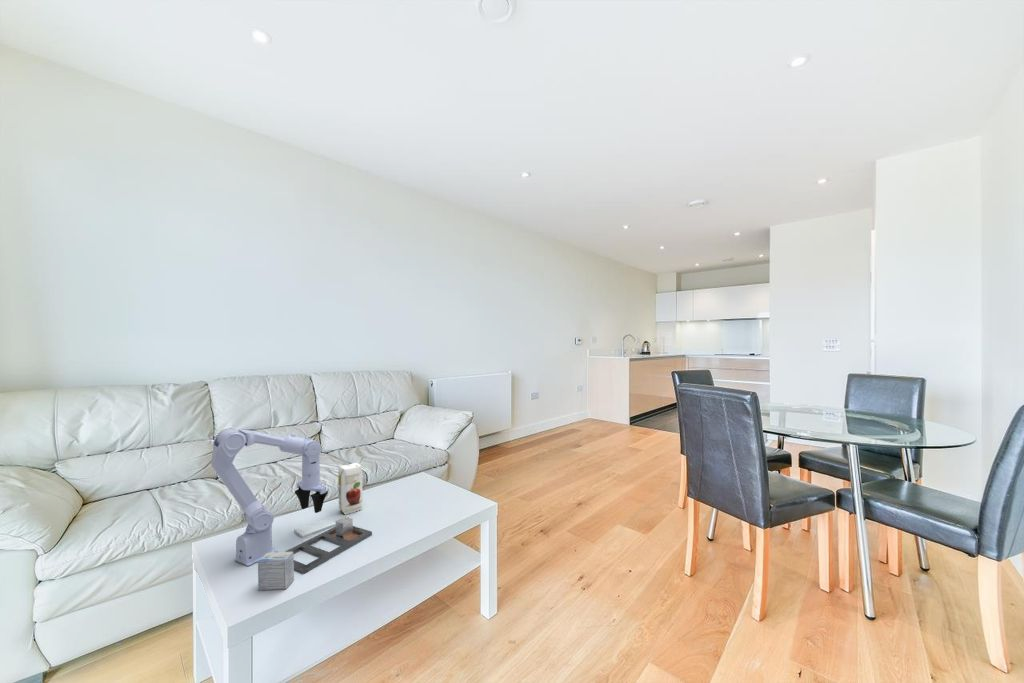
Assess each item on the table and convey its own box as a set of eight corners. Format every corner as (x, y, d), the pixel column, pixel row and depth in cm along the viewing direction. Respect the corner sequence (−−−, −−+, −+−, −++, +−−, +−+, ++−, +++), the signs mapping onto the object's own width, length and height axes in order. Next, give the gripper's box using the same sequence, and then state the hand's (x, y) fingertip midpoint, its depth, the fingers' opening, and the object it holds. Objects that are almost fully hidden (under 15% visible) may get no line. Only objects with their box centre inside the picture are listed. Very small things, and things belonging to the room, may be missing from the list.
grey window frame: (304, 573, 113) (303, 570, 113) (273, 561, 120) (273, 557, 120) (372, 534, 136) (371, 531, 136) (342, 526, 143) (342, 522, 143)
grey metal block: (343, 540, 132) (343, 523, 132) (335, 537, 134) (335, 521, 134) (352, 535, 136) (352, 518, 136) (345, 532, 138) (345, 516, 138)
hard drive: (327, 517, 149) (293, 528, 140) (336, 523, 144) (302, 535, 134) (327, 521, 149) (293, 533, 140) (336, 527, 144) (302, 540, 134)
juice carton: (337, 510, 157) (336, 465, 158) (358, 504, 163) (357, 461, 163) (343, 516, 152) (342, 469, 152) (364, 510, 157) (363, 465, 158)
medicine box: (294, 580, 110) (294, 550, 110) (286, 590, 106) (285, 559, 106) (267, 581, 110) (267, 552, 110) (257, 591, 105) (257, 560, 105)
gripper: (333, 472, 137) (334, 509, 137) (308, 467, 144) (309, 502, 143) (315, 478, 131) (316, 517, 131) (290, 472, 137) (291, 509, 137)
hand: (311, 510), depth 137 cm, fingers open, 7 cm apart
